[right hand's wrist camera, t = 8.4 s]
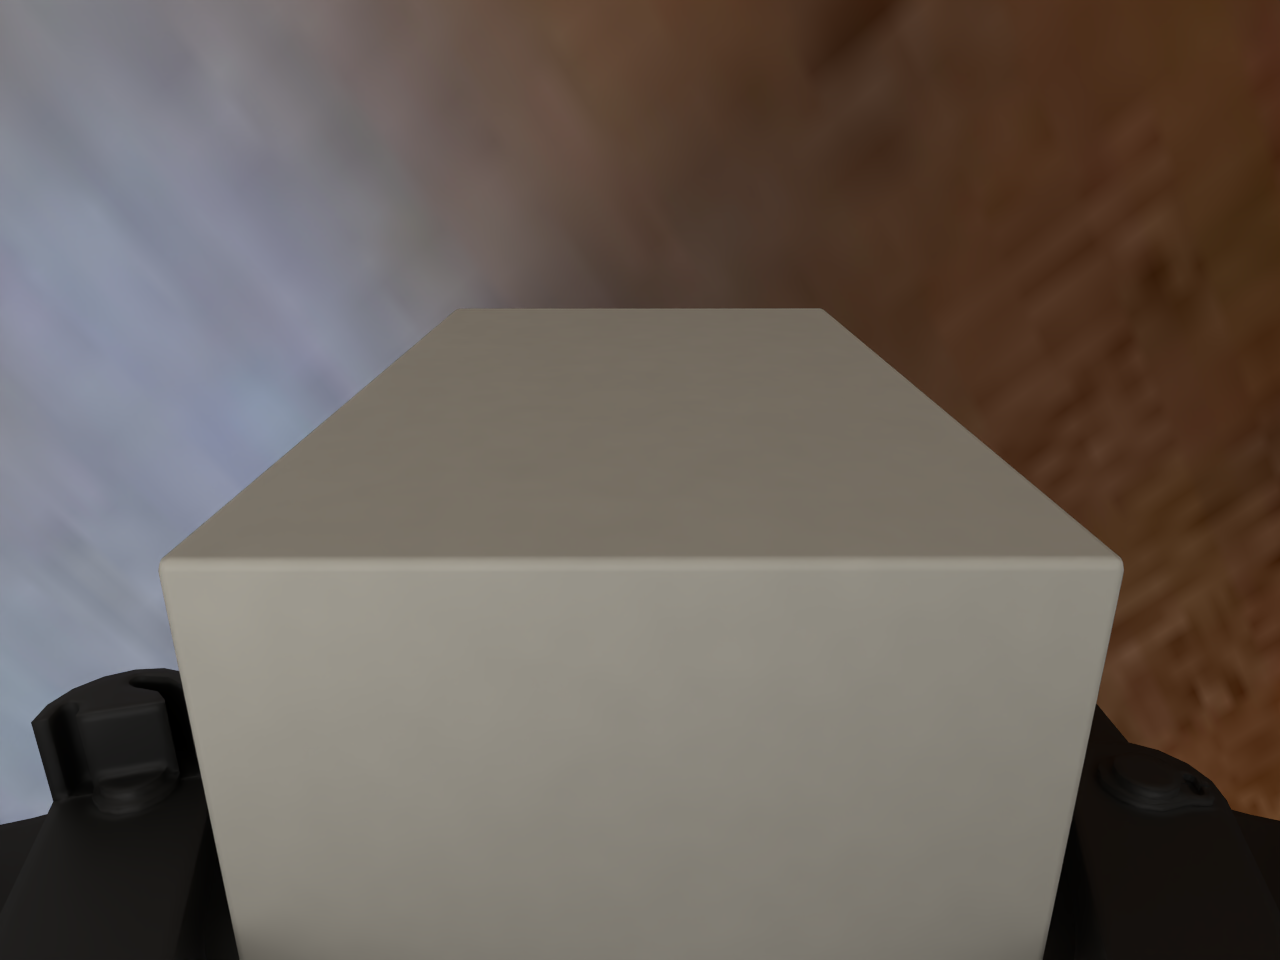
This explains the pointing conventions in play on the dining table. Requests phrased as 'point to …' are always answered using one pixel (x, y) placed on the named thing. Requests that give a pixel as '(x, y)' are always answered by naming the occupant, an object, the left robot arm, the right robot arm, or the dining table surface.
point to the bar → (641, 657)
